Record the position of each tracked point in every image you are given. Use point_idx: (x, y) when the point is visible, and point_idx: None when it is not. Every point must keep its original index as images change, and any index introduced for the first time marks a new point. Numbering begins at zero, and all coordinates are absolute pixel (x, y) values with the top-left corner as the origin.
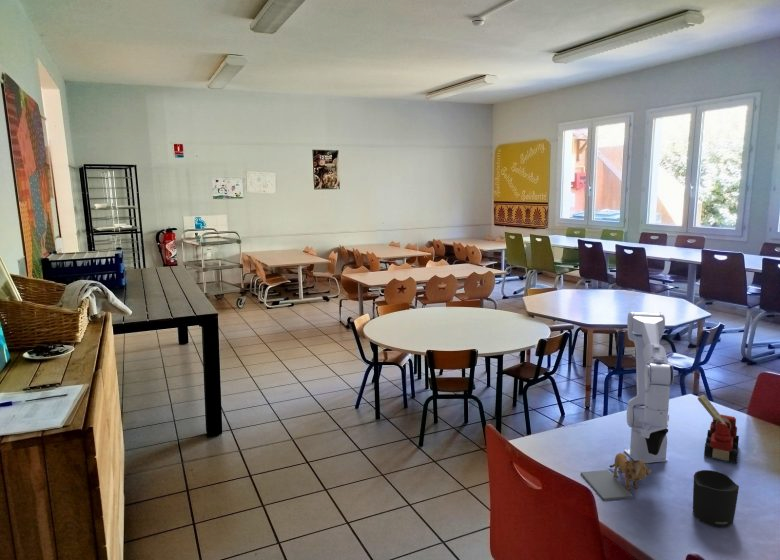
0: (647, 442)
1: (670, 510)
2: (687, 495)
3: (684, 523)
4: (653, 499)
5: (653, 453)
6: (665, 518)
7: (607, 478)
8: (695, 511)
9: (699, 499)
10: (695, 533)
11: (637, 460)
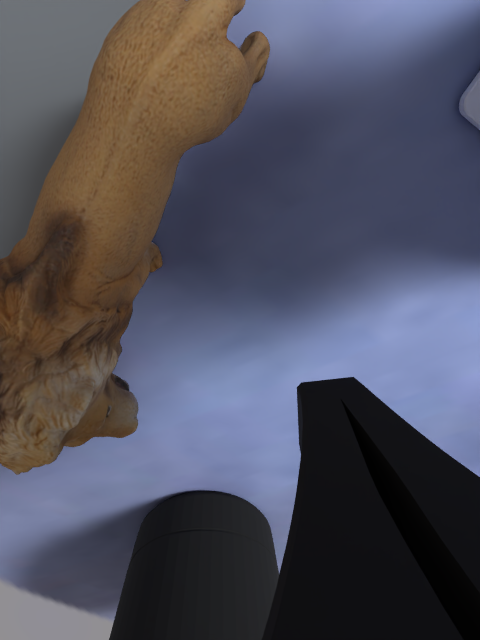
0: (298, 506)
1: (108, 447)
2: (285, 438)
3: (76, 503)
4: (120, 372)
5: (301, 435)
6: None
7: (32, 69)
8: (143, 533)
9: (114, 624)
10: (58, 538)
11: (15, 400)
